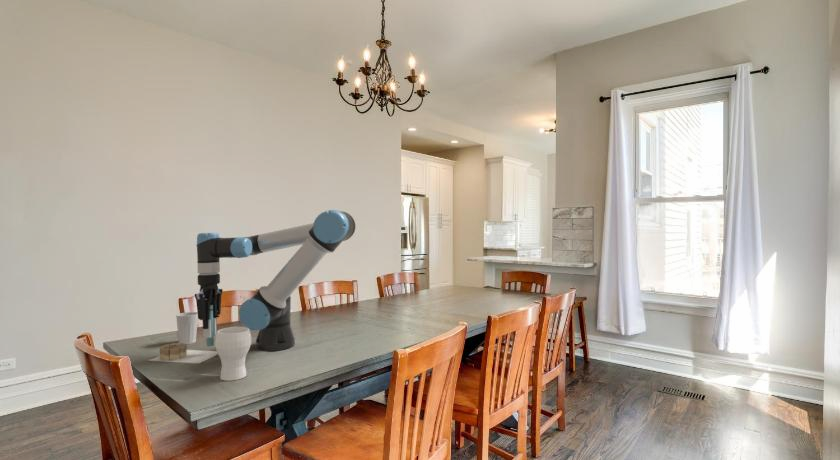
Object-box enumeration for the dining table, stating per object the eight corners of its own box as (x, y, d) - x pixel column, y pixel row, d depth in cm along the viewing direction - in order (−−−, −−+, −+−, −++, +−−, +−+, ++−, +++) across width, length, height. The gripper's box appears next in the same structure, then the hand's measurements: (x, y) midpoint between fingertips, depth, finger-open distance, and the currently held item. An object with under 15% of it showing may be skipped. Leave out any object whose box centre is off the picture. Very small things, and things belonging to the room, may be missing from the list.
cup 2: (222, 371, 141) (222, 326, 141) (255, 370, 142) (255, 325, 142) (209, 383, 131) (209, 334, 131) (245, 382, 132) (245, 333, 131)
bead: (191, 354, 159) (191, 343, 159) (175, 361, 151) (175, 349, 151) (171, 353, 160) (171, 342, 160) (154, 359, 152) (154, 348, 152)
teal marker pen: (215, 344, 161) (214, 305, 161) (211, 346, 158) (210, 306, 158) (209, 344, 161) (208, 304, 161) (205, 346, 159) (204, 306, 159)
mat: (223, 352, 162) (223, 351, 162) (198, 364, 148) (198, 363, 148) (176, 350, 165) (176, 349, 165) (148, 361, 151) (148, 360, 151)
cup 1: (188, 346, 171) (188, 316, 171) (171, 345, 172) (171, 315, 172) (202, 341, 179) (202, 312, 179) (186, 339, 180) (186, 311, 180)
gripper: (212, 271, 168) (213, 330, 168) (185, 276, 152) (186, 341, 153) (230, 271, 166) (231, 331, 167) (204, 276, 151) (205, 341, 151)
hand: (210, 336), depth 160 cm, fingers closed on teal marker pen, 2 cm apart
